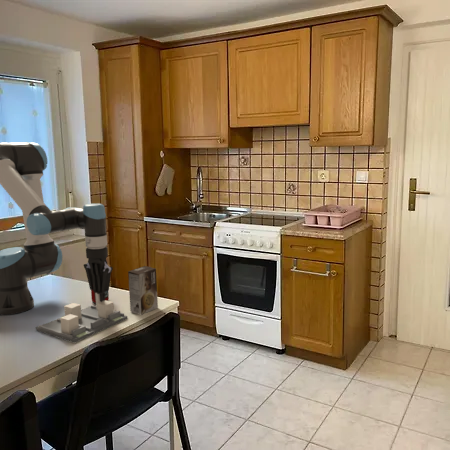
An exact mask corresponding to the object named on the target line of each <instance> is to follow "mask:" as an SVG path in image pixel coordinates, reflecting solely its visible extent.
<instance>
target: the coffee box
mask: <svg viewBox="0 0 450 450" xmlns="http://www.w3.org/2000/svg"><path fill="white" fill-rule="evenodd" d="M127 272H128V277H127V278H128V289H129V290H128V291H129V310H130V312H131V313H134V314H136V315H140V314H141V315H142V316H143V315H145V314H147V313H149V312H151V311H153V310H156V309H158V308H159V305H158V303H159V302H158V286H157V285H158V284H157V283H158V282H157V268H156V267H155V268H154V267H151V266H145V265H144V266H141V267H138V268H135V269H132V270H129V271H127ZM144 313H145V314H144Z"/></svg>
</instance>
